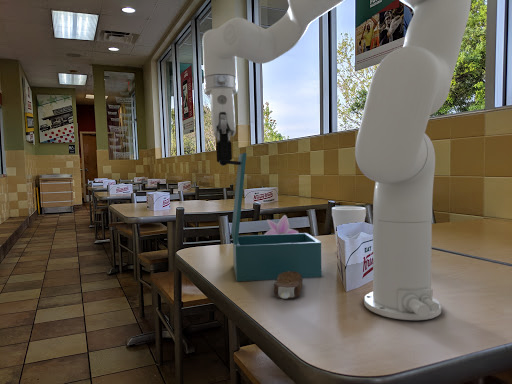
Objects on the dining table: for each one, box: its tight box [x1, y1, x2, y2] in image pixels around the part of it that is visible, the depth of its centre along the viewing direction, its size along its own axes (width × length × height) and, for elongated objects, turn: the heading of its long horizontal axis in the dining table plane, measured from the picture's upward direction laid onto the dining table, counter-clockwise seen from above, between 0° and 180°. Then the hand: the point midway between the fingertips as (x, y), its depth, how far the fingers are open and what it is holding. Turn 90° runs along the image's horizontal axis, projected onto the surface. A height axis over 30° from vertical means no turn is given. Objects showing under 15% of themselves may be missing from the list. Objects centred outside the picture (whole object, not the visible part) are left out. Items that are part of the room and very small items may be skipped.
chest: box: [232, 232, 323, 282], centre depth 91 cm, size 19×13×8 cm, turn 97°
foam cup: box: [331, 205, 367, 245], centre depth 108 cm, size 10×9×13 cm
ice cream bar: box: [273, 271, 303, 300], centre depth 75 cm, size 5×15×3 cm, turn 169°
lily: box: [263, 214, 300, 235], centre depth 116 cm, size 12×12×10 cm
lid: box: [218, 152, 248, 244], centre depth 89 cm, size 20×13×6 cm
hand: (224, 161), depth 88 cm, fingers open, 9 cm apart
